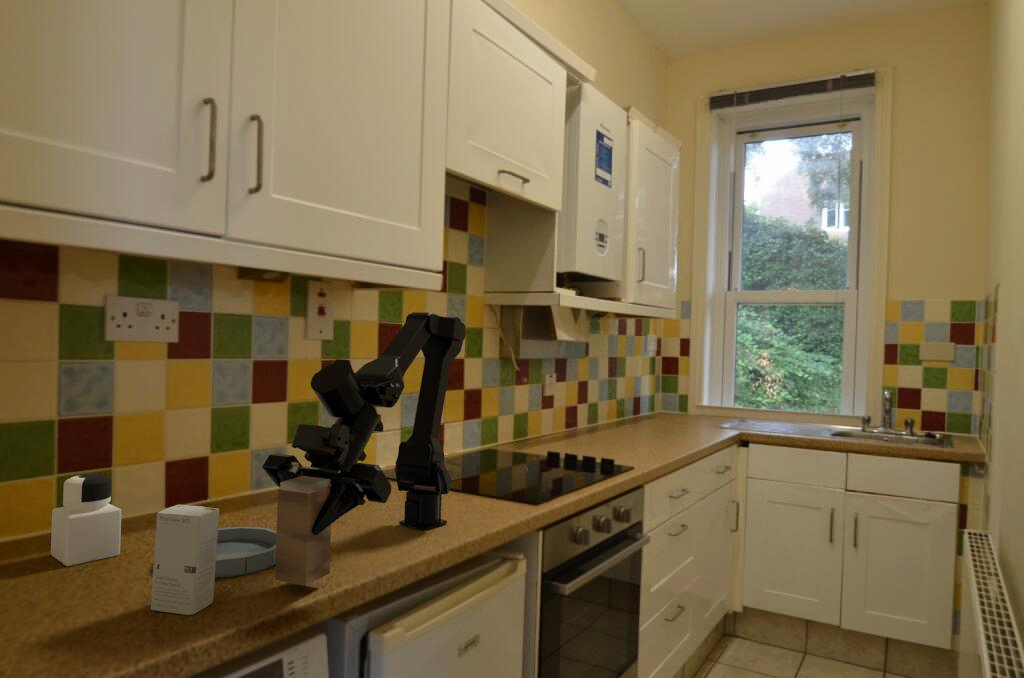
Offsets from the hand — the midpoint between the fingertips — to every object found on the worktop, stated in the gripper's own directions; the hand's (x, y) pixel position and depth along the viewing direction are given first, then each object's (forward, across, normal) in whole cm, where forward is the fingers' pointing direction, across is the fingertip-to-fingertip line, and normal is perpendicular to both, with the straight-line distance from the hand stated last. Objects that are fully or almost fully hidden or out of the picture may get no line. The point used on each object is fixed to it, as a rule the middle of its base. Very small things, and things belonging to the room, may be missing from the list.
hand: (297, 530), depth 87 cm
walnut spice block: (+4, 0, +6) cm, 7 cm away
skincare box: (+13, -9, -1) cm, 16 cm away
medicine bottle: (+8, -37, +4) cm, 38 cm away
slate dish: (+2, -17, +10) cm, 20 cm away
